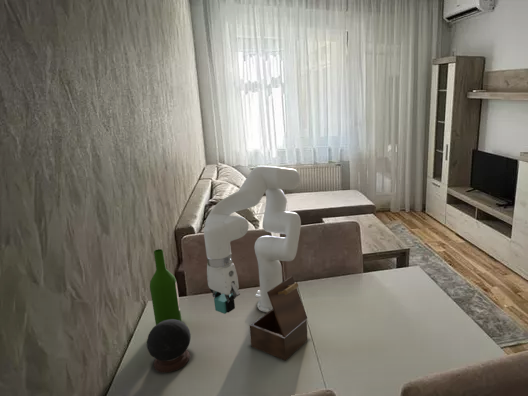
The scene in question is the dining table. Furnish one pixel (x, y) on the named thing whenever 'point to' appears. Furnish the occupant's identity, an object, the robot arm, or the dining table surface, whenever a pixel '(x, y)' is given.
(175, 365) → the ball on stand
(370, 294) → the dining table surface
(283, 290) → the chest lid
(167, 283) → the wine bottle
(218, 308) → the block
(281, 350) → the chest
